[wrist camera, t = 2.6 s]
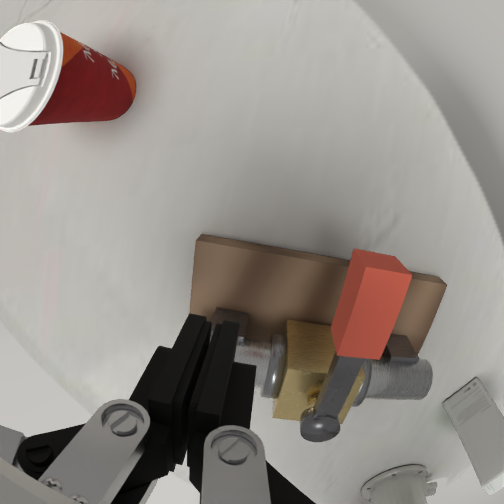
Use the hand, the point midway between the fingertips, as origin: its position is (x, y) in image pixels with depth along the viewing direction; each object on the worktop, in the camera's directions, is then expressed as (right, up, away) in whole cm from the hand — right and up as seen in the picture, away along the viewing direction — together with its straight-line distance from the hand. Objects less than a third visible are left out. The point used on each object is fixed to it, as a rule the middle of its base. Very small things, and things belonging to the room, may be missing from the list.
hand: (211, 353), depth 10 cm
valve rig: (+8, -4, +20) cm, 22 cm away
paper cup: (-12, +19, +15) cm, 27 cm away
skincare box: (+32, -18, +23) cm, 44 cm away
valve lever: (+7, -3, +9) cm, 12 cm away
